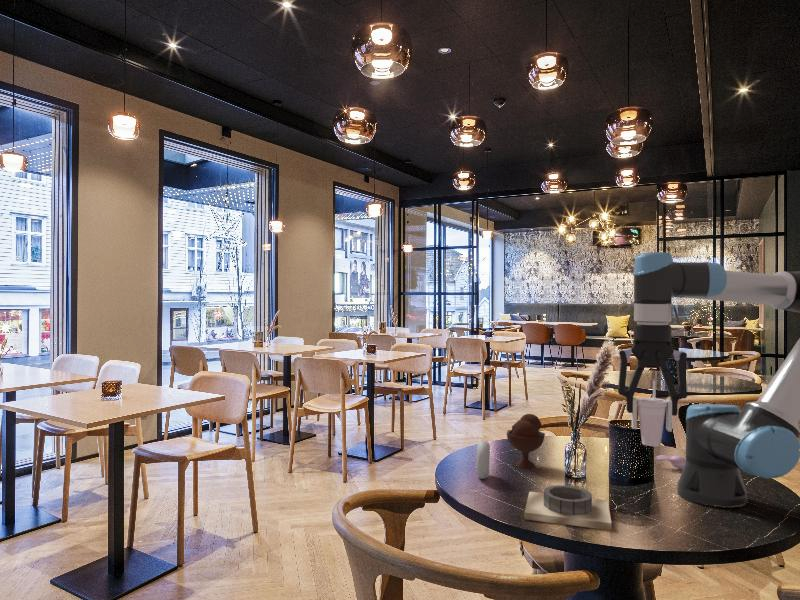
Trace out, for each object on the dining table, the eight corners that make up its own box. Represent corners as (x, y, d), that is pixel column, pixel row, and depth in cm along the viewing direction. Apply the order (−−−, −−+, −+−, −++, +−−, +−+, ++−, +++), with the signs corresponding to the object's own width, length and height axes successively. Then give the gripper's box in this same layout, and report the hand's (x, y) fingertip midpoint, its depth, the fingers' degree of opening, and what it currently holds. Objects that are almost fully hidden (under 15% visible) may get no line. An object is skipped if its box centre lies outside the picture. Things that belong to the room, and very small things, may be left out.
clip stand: (607, 506, 133) (607, 487, 133) (611, 530, 120) (611, 509, 119) (529, 497, 138) (529, 479, 138) (524, 519, 125) (524, 498, 125)
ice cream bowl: (515, 458, 171) (515, 408, 171) (550, 465, 165) (551, 413, 165) (499, 466, 163) (500, 414, 163) (536, 474, 156) (537, 420, 156)
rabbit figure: (705, 473, 164) (651, 461, 167) (709, 453, 164) (655, 441, 166) (713, 480, 158) (657, 467, 160) (717, 459, 158) (661, 447, 160)
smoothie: (670, 448, 120) (671, 383, 120) (638, 447, 121) (639, 382, 121) (663, 441, 126) (663, 378, 126) (632, 439, 127) (633, 377, 127)
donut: (489, 484, 147) (489, 446, 147) (475, 483, 148) (476, 445, 148) (489, 472, 157) (490, 436, 157) (477, 471, 158) (477, 436, 158)
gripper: (697, 323, 124) (696, 428, 124) (604, 321, 130) (603, 422, 130) (705, 325, 117) (704, 436, 117) (606, 323, 123) (605, 429, 123)
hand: (651, 428), depth 124 cm, fingers closed on smoothie, 6 cm apart
